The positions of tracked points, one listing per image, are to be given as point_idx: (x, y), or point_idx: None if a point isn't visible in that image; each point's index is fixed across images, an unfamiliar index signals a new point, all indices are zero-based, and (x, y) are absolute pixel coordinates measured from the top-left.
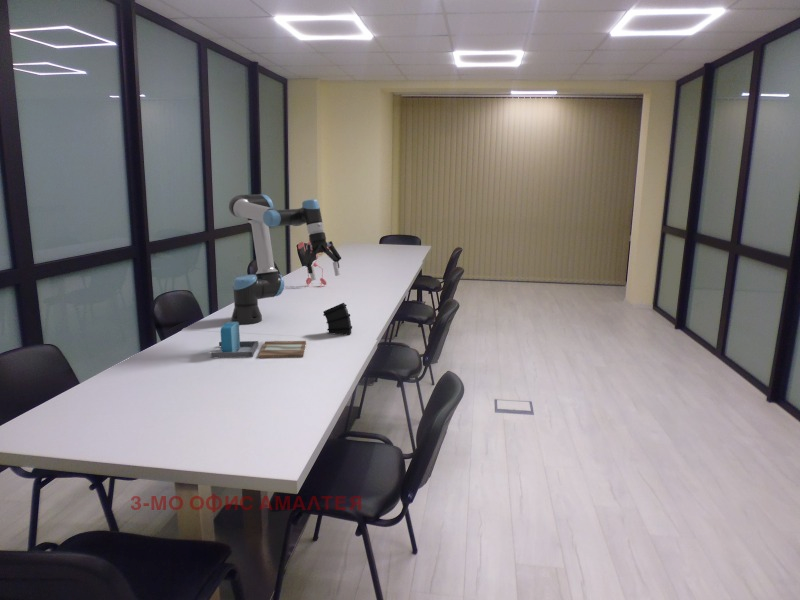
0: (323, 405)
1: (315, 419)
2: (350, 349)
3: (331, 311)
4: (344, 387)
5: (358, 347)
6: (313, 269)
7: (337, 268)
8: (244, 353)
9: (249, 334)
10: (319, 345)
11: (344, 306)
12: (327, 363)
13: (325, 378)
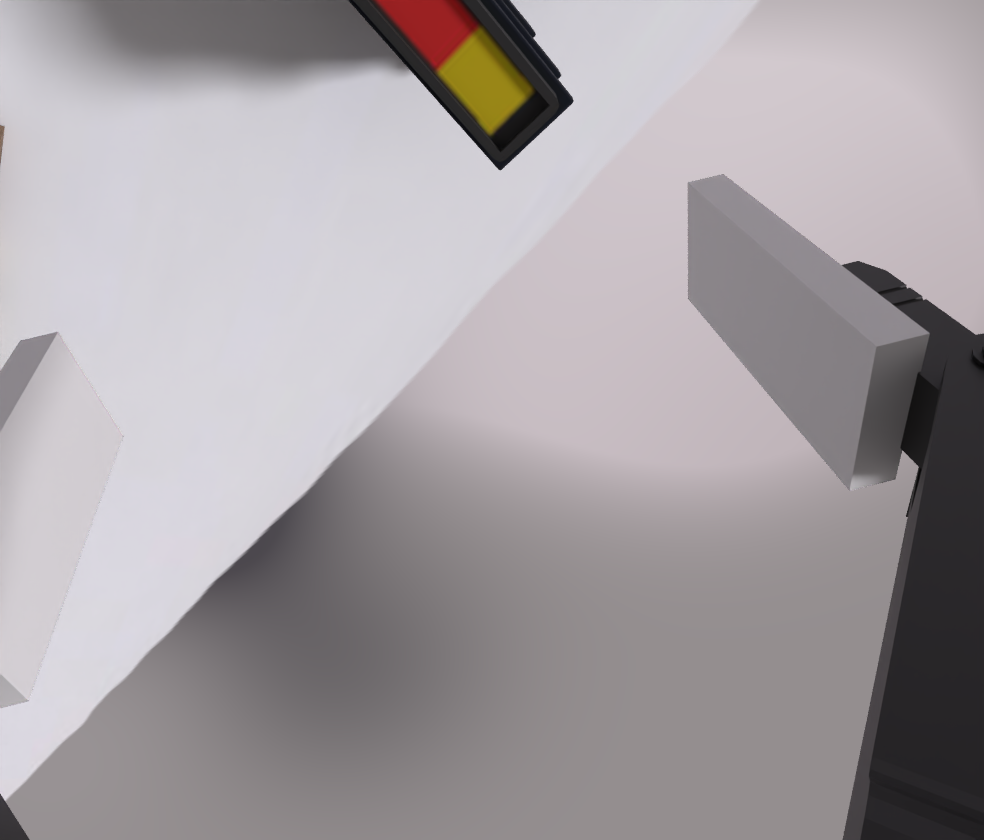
0: (49, 715)
1: (17, 753)
2: (317, 353)
3: (372, 26)
4: (144, 649)
5: (378, 336)
6: (47, 614)
7: (762, 375)
8: None
9: None
10: (127, 221)
11: (514, 155)
12: (123, 492)
13: (84, 602)
